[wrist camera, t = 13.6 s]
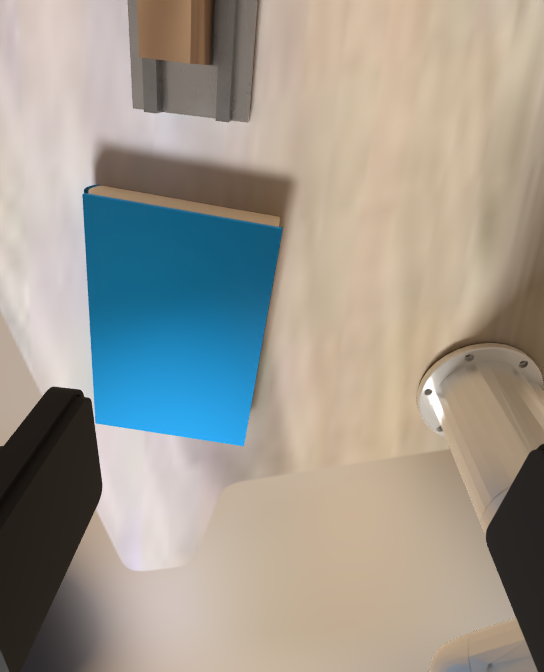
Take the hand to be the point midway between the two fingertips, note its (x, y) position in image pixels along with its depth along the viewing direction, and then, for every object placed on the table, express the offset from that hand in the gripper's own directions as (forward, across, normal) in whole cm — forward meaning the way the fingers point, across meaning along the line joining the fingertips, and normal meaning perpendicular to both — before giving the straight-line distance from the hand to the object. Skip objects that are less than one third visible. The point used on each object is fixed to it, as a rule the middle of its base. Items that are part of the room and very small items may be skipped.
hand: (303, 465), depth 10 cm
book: (+33, +10, +16) cm, 38 cm away
